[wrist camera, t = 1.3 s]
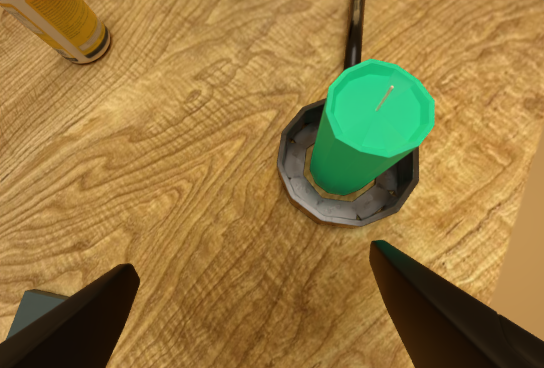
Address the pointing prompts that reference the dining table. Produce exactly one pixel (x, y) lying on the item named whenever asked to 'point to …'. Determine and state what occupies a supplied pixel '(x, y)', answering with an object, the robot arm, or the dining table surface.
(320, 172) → the candle
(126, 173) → the dining table surface
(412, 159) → the pan
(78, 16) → the pill bottle
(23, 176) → the dining table surface
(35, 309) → the coaster
